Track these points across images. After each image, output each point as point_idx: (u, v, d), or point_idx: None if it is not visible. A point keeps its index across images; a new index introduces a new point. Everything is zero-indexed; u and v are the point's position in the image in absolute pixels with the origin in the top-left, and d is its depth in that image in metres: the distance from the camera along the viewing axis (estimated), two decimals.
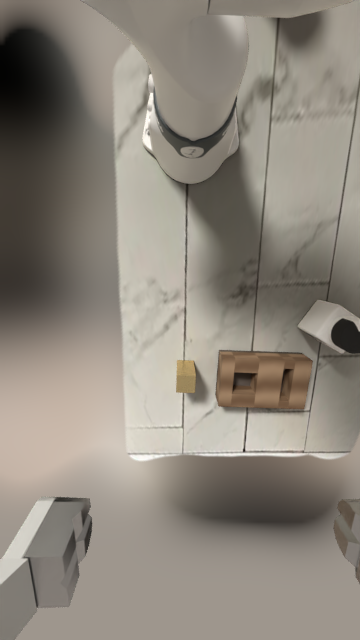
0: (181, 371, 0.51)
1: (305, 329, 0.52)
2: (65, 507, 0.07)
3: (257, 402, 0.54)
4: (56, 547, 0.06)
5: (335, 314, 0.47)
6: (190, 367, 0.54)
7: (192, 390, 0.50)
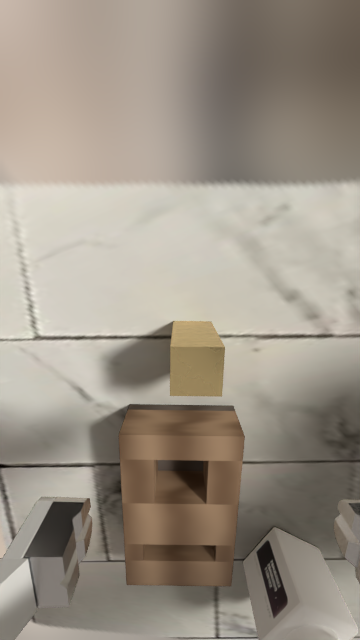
0: None
1: (288, 560, 0.28)
2: (65, 507, 0.07)
3: (136, 509, 0.24)
4: (56, 547, 0.06)
5: (343, 630, 0.25)
6: None
7: (177, 389, 0.18)
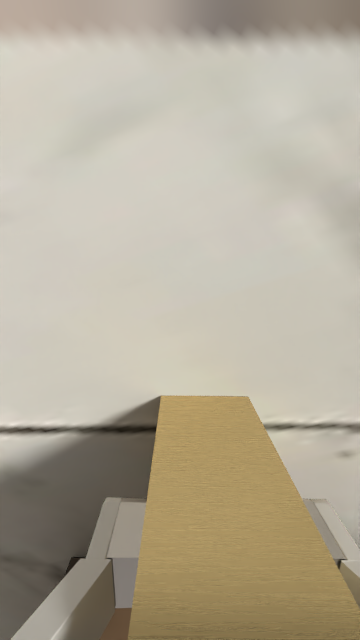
0: None
1: None
2: (132, 507, 0.07)
3: None
4: (136, 547, 0.06)
5: None
6: None
7: None
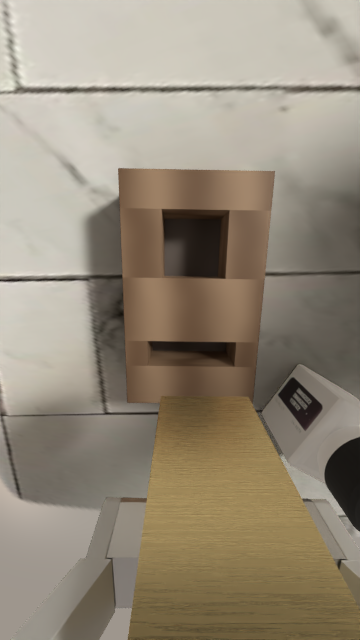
0: None
1: (319, 378, 0.23)
2: (132, 507, 0.07)
3: (140, 287, 0.20)
4: (136, 548, 0.06)
5: None
6: None
7: None
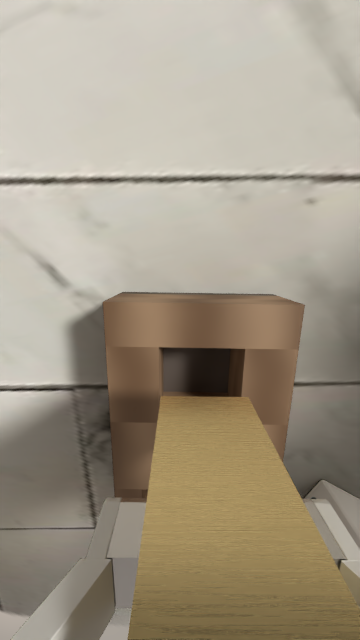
0: None
1: (350, 518, 0.19)
2: (132, 508, 0.07)
3: (132, 432, 0.16)
4: (136, 548, 0.06)
5: None
6: None
7: None
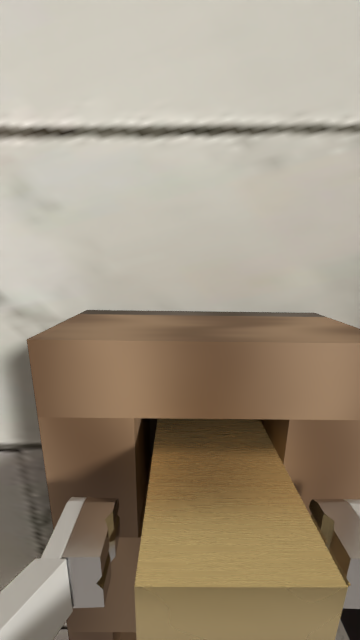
0: None
1: None
2: (95, 507, 0.07)
3: None
4: (92, 547, 0.06)
5: None
6: None
7: None
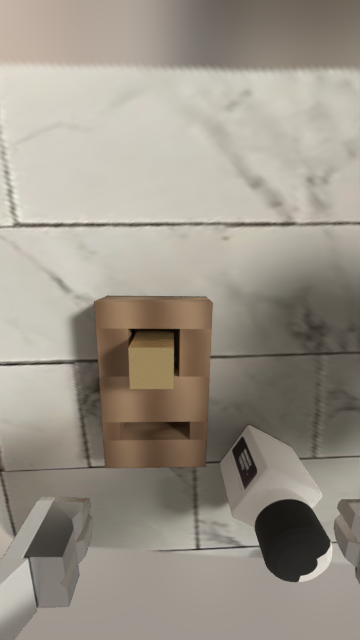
0: None
1: (259, 443, 0.29)
2: (65, 507, 0.07)
3: (113, 383, 0.26)
4: (56, 547, 0.06)
5: (308, 493, 0.26)
6: None
7: (136, 383, 0.21)
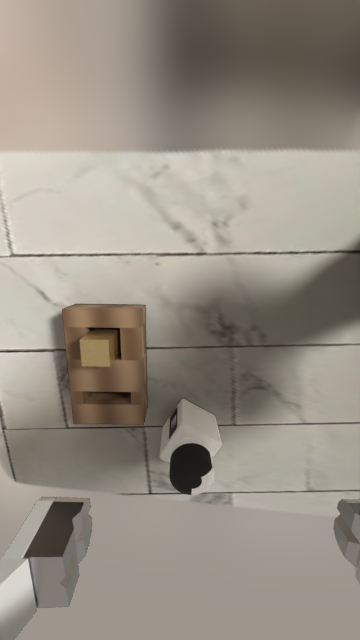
0: (112, 342, 0.35)
1: (183, 409, 0.41)
2: (65, 507, 0.07)
3: (76, 364, 0.38)
4: (56, 547, 0.06)
5: (210, 442, 0.38)
6: (117, 350, 0.37)
7: (85, 362, 0.33)
